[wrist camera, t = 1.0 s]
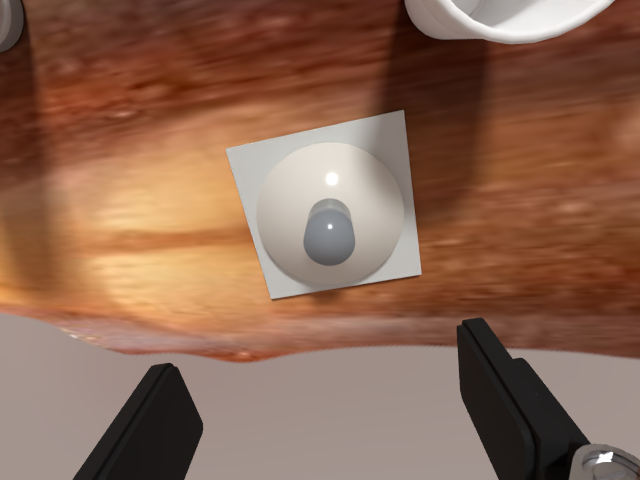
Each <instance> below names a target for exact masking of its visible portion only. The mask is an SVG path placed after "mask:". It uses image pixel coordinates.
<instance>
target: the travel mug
mask: <svg viewBox="0 0 640 480" xmlns="http://www.w3.org/2000/svg"><path fill="white" fill-rule="evenodd" d="M22 28H23V9H22V4H21V1H20V0H0V52H3V51H6V50H8V49H9V48H11V47H12V46H13V45H14V44H15V43H16V42H17V41H18V39H19V37H20V35H21V33H22Z"/></svg>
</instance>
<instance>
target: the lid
mask: <svg viewBox="0 0 640 480" xmlns="http://www.w3.org/2000/svg"><path fill="white" fill-rule="evenodd" d="M256 217H257V226H258V230H259V234H260V237H261V239H262V242H263V244H264V246H265V248H266V249H267V251H268V252H269V254H270V255H271V256H272V258H273V259H274V260H275V261H276V262H277V263H278V264H279V265H280V266H282V267H283V268H284V269H285V270H287V271H288V272H290V273H291V274H293V275H295V276H297V277H299V278H302V279H304V280H307V281H311V282H315V283H322V284H338V283H345V282H350V281H353V280H356V279H359V278H361V277H363V276H365V275H367V274H369V273H370V272H372V271H374V270H375V269H376V268H378V267H379V266H380V265H381V264H382V263H383V262H384V261H385V260H386V259H387V258H388V257H389V255H390V254H391V253H392V251H393V250H394V248H395V246H396V244H397V243H398V240H399V238H400V235H401V232H402V228H403V222H404V204H403V199H402V195H401V192H400V189H399V186H398V184H397V183H396V181H395V179H394V177H393V176H392V174H391V173H390V171H389V170H388V169H387V168H386V167H385V166H384V165H383V164H382V163H381V161H379V160H378V159H377V158H376V157H375V156H373V155H372V154H370V153H369V152H367V151H365V150H363V149H361V148H359V147H356V146H354V145H350V144H346V143H340V142H320V143H314V144H311V145H307V146H304V147H302V148H300V149H297V150H295V151H294V152H292V153H290V154H289V155H287V156H286V157H285V158H284V159H282V160H281V161H280V162H279V163H278V164H277V165H276V166H275V167H274V168H273V170H272V171H271V172H270V173H269V175H268V176H267V178H266V179H265V181H264V183H263V185H262V187H261V190H260V193H259V196H258V202H257V210H256Z"/></svg>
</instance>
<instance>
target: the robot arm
mask: <svg viewBox="0 0 640 480" xmlns="http://www.w3.org/2000/svg"><path fill="white" fill-rule="evenodd" d="M457 344H458V361H459V378H460V392H461V396H462V399H463V402H464V404H465V406H466V409H467V411H468V413H469V415H470V417H471V420H472V422H473V424H474V426H475V428H476V431H477V433H478V435H479V437H480V439H481V442H482V443H483V446H484V448H485V450H486V453H487V455H488V457H489V459H490V461H491V463H492V465H493V468H494V470H495V472H496V474H497V477H498V479H499V480H640V460H639V459H638V458H636V457H635V456H633V455H631V454H629V453H627V452H625V451H623V450H621V449H619V448H616V447H612V446H609V445H605V444H591V443H590V442H589V441H588V440H587V438H586V437H585V435H584V434H583V433H582V432H581V430H580V429H579V428H578V427H577V425H576V424H575V423H574V421H573V420H572V419H571V418H570V416H569V415H568V414H567V412H566V411H565V410H564V408H563V407H562V406H561V405H560V403H559V402H558V401H557V399H556V398H555V397H554V396H553V395H552V393H551V392H550V391H549V389H548V388H547V387H546V385H545V384H544V383H543V381H542V380H541V379H540V378H539V376H538V375H537V374H536V373H535V371H534V370H533V369H532V367H531V366H530V365H529V364H528V363H527V361H526V360H524V359H523V358H516V359H512V357H511V356H510V355H509V353H508V352H507V350H506V349H505V348H504V346H503V345H502V344H501V342H500V341H499V339H498V338H497V337H496V335H495V334H494V333H493V331H492V330H491V328H490V327H489V326H488V324H487V323H486V322H485V320H484V319H483V318H474V319H467V320H463V321H462V325H459V326H457ZM202 432H203V422H202V420H201V418H200V415H199V413H198V411H197V409H196V407H195V404H194V402H193V400H192V398H191V396H190V393H189V391H188V389H187V387H186V385H185V382H184V380H183V378H182V376H181V374H180V371H179V369H178V368H177V367H174V366H173V364H171V363H164V364H158V365H153V366H151V367H150V369H149V370H148V371H147V373H146V374H145V376H144V377H143V379H142V380H141V381H140V383H139V384H138V386H137V387H136V389H135V390H134V392H133V393H132V395H131V396H130V397H129V399H128V400H127V402H126V403H125V405H124V406H123V407H122V409H121V411H120V412H119V413H118V415H117V416H116V418H115V419H114V421H113V422H112V423H111V425H110V426H109V428H108V429H107V431H106V432H105V434H104V435H103V436H102V438H101V439H100V441H99V442H98V444H97V445H96V447H95V448H94V450H93V451H92V452H91V454H90V455H89V457H88V458H87V459H86V461H85V462H84V464H83V465H82V467H81V468H80V470H79V471H78V472H77V474H76V475H75V477H74V478H73V480H184V479H185V476H186V473H187V471H188V469H189V466H190V463H191V461H192V458H193V456H194V453H195V451H196V448H197V446H198V443H199V440H200V438H201V435H202Z"/></svg>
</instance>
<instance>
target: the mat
mask: <svg viewBox="0 0 640 480" xmlns="http://www.w3.org/2000/svg"><path fill="white" fill-rule="evenodd" d="M320 142H340V143H346V144H350V145H354V146H356V147H359V148H361V149H363V150H365V151H367V152H369V153H370V154H372V155H373V156H375V157H376V158H377V159H378V160H379V161H381V163H382V164H383V165H384V166H385V167H386V168H387V169H388V170H389V171H390V173H391V174H392V176H393V177H394V179H395V181H396V183H397V184H398V186H399V189H400V192H401V195H402V199H403V204H404V222H403V228H402V232H401V235H400V238H399V240H398V243H397V244H396V246H395V248H394V250H393V251H392V253H391V254H390V255H389V257H388V258H387V259H386V260H385V261H384V262H383V263H382V264H381V265H380V266H379V267H378V268H376V269H375V270H374V271H372V272H370V273H369V274H367V275H365V276H363V277H361V278H359V279H356V280H353V281H350V282H345V283H338V284H322V283H315V282H311V281H307V280H304V279H302V278H299V277H297V276H295V275H293V274H291V273H290V272H288V271H287V270H285V269H284V268H283V267H282V266H280V265H279V264H278V263H277V262H276V261H275V260H274V259H273V258H272V256H271V255H270V254H269V252H268V251H267V249H266V248H265V246H264V244H263V242H262V239H261V237H260V234H259V230H258V226H257V217H256V210H257V202H258V196H259V193H260V190H261V187H262V185H263V183H264V181H265V179H266V178H267V176H268V175H269V173H270V172H271V171H272V170H273V168H274V167H275V166H276V165H277V164H278V163H279V162H280V161H281V160H282V159H284V158H285V157H286V156H287V155H289V154H290V153H292V152H294V151H295V150H297V149H300V148H302V147H304V146H307V145H311V144H314V143H320ZM226 153H227V156H228V159H229V162H230V166H231V169H232V172H233V176H234V179H235V182H236V185H237V189H238V192H239V195H240V198H241V202H242V205H243V208H244V212H245V215H246V218H247V221H248V225H249V228H250V231H251V235H252V238H253V241H254V244H255V248H256V251H257V254H258V257H259V261H260V264H261V267H262V271H263V274H264V277H265V280H266V284H267V287H268V290H269V294H270V297H271V299H275V298H281V297H287V296H293V295H299V294H305V293H311V292H317V291H323V290H329V289H335V288H341V287H347V286H354V285H360V284H366V283H372V282H378V281H384V280H390V279H396V278H402V277H408V276H414V275H420V274H421V265H420V256H419V246H418V237H417V228H416V218H415V209H414V200H413V191H412V181H411V172H410V163H409V153H408V144H407V135H406V125H405V116H404V110H400V111H395V112H391V113H386V114H381V115H377V116H372V117H368V118H363V119H359V120H354V121H349V122H345V123H340V124H336V125H331V126H327V127H322V128H317V129H313V130H308V131H304V132H299V133H295V134H290V135H286V136H281V137H276V138H272V139H267V140H263V141H258V142H254V143H249V144H244V145H240V146H235V147H231V148H227V149H226Z"/></svg>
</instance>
